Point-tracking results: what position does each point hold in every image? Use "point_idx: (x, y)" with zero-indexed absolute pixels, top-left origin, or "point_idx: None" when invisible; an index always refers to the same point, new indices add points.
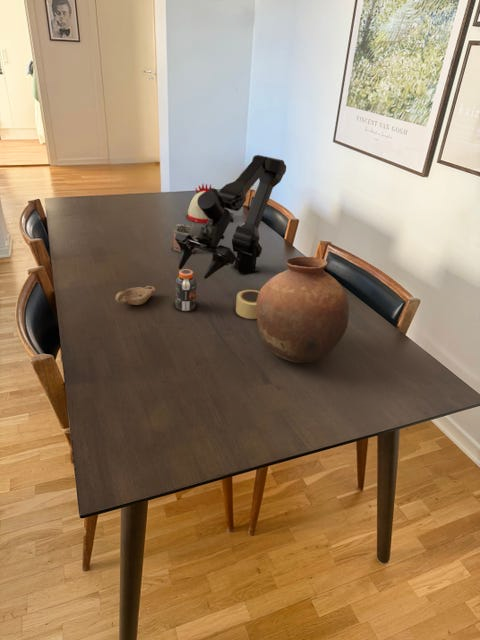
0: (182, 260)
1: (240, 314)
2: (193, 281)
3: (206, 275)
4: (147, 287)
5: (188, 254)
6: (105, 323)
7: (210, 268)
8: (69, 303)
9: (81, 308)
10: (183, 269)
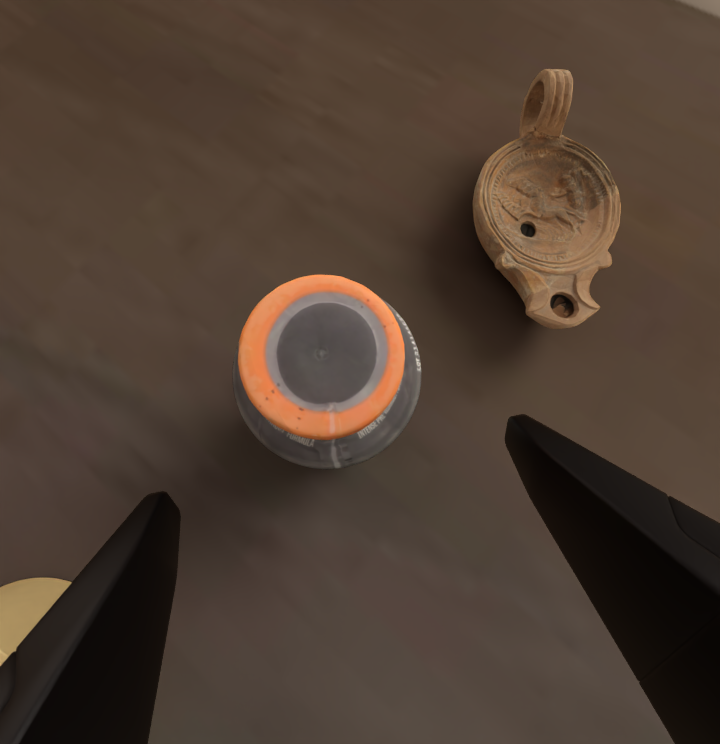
0: (574, 487)
1: (32, 582)
2: (244, 392)
3: (127, 519)
4: (578, 292)
5: (674, 682)
6: (438, 42)
7: (43, 623)
8: (667, 23)
9: (603, 35)
10: (397, 372)
